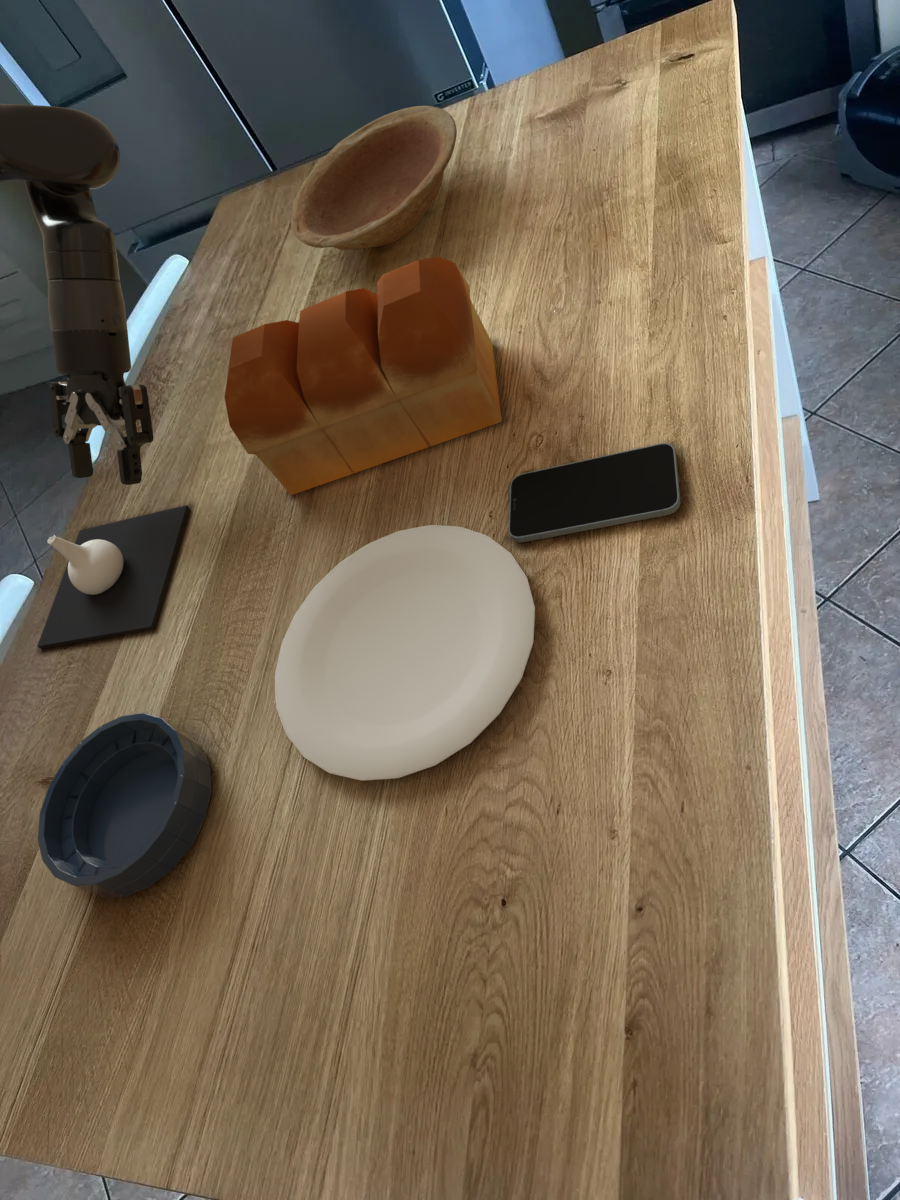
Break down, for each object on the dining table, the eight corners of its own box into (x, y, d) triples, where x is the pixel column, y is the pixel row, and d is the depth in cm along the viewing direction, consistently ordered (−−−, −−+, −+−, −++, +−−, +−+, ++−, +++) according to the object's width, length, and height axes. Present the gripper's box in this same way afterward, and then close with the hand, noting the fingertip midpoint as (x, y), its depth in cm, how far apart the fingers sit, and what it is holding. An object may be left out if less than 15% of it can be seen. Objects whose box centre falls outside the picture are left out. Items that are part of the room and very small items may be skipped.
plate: (353, 849, 71) (343, 843, 70) (245, 651, 87) (235, 642, 86) (600, 650, 71) (594, 640, 70) (447, 489, 87) (440, 478, 86)
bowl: (334, 190, 128) (305, 139, 122) (490, 138, 118) (466, 80, 112) (298, 305, 116) (264, 255, 110) (468, 258, 106) (441, 200, 100)
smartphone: (679, 507, 74) (508, 540, 80) (682, 514, 75) (511, 546, 80) (673, 440, 78) (510, 475, 84) (675, 446, 79) (513, 481, 84)
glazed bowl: (53, 901, 81) (15, 887, 77) (101, 741, 89) (69, 722, 85) (192, 896, 75) (157, 881, 71) (231, 725, 83) (201, 705, 79)
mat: (40, 649, 100) (36, 646, 100) (83, 532, 109) (79, 530, 108) (155, 629, 94) (151, 626, 94) (190, 508, 103) (186, 504, 102)
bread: (287, 498, 97) (204, 405, 85) (293, 417, 104) (217, 320, 92) (506, 422, 89) (446, 308, 78) (495, 340, 96) (439, 225, 85)
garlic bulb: (137, 550, 101) (87, 508, 95) (115, 597, 99) (63, 557, 92) (97, 552, 104) (46, 512, 98) (75, 599, 101) (21, 560, 95)
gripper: (17, 327, 96) (38, 479, 100) (100, 326, 88) (118, 491, 93) (79, 327, 102) (96, 471, 106) (162, 326, 94) (177, 481, 98)
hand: (107, 480), depth 99 cm, fingers open, 8 cm apart
